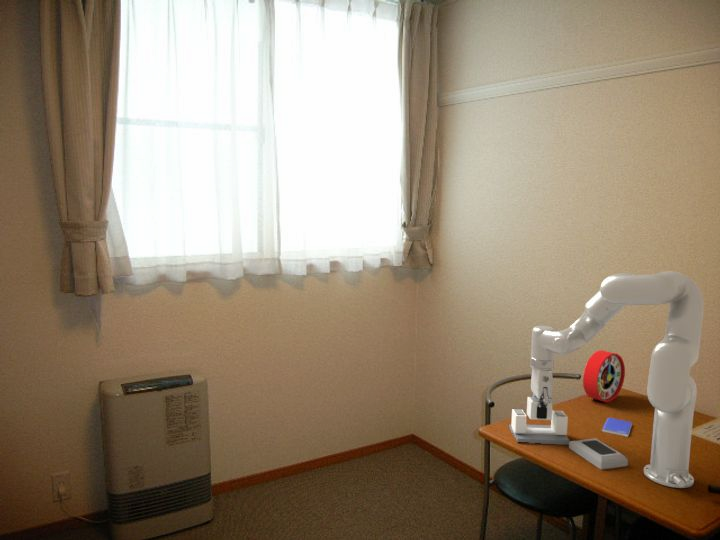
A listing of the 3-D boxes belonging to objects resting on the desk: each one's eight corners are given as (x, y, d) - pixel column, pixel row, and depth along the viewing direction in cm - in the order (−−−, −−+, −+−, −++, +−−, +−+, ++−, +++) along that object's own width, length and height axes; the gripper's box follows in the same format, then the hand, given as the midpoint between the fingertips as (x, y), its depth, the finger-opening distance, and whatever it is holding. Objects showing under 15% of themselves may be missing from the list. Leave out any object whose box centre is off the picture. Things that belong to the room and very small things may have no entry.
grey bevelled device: (594, 435, 175) (628, 455, 161) (593, 446, 176) (627, 467, 161) (569, 438, 173) (601, 459, 159) (568, 449, 173) (600, 470, 159)
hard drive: (628, 434, 182) (632, 422, 193) (602, 428, 187) (607, 417, 197) (627, 438, 182) (631, 426, 193) (602, 432, 187) (607, 421, 197)
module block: (551, 420, 179) (552, 402, 178) (530, 419, 179) (531, 401, 178) (547, 414, 184) (548, 397, 183) (526, 413, 184) (527, 396, 183)
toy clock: (594, 406, 210) (598, 357, 208) (581, 402, 215) (584, 353, 213) (623, 397, 221) (626, 350, 219) (610, 393, 226) (613, 347, 224)
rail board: (569, 444, 176) (570, 420, 175) (517, 442, 176) (518, 418, 176) (558, 429, 187) (559, 406, 186) (509, 428, 188) (510, 405, 187)
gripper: (561, 371, 170) (558, 425, 172) (546, 356, 187) (543, 406, 189) (537, 370, 171) (534, 424, 173) (524, 355, 188) (521, 405, 190)
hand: (539, 414), depth 181 cm, fingers closed on module block, 5 cm apart
